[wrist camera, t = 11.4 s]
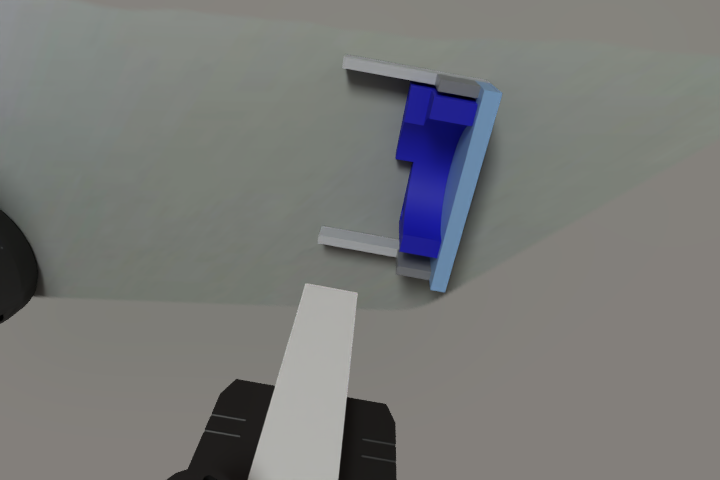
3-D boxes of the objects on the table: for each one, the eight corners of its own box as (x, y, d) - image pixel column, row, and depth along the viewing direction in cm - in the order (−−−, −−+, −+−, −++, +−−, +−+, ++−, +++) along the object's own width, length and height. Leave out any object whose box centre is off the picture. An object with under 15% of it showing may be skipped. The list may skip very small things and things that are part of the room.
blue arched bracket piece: (410, 80, 38) (412, 92, 32) (466, 90, 38) (477, 104, 32) (382, 218, 43) (380, 248, 38) (432, 226, 43) (436, 258, 38)
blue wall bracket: (320, 233, 44) (309, 268, 38) (346, 54, 37) (336, 62, 31) (438, 254, 44) (445, 292, 38) (486, 79, 37) (502, 93, 31)
